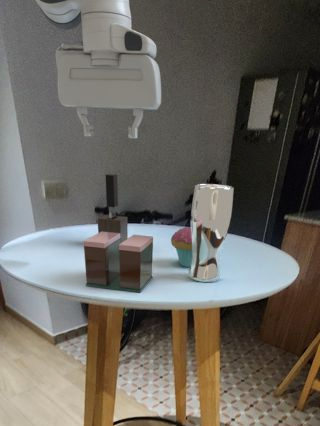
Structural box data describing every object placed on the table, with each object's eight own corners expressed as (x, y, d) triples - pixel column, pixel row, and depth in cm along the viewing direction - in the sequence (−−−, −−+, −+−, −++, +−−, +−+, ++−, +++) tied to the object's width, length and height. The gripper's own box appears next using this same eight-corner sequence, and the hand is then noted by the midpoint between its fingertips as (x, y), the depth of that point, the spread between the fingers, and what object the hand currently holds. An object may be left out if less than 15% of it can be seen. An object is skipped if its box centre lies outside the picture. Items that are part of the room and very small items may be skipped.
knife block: (98, 247, 85) (97, 218, 82) (106, 242, 89) (105, 214, 86) (120, 249, 84) (120, 220, 81) (127, 244, 89) (127, 216, 85)
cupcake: (218, 267, 76) (227, 201, 69) (186, 272, 72) (192, 203, 65) (193, 257, 81) (198, 195, 74) (161, 261, 77) (164, 196, 70)
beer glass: (197, 269, 74) (206, 182, 65) (228, 277, 71) (242, 187, 62) (178, 277, 69) (185, 184, 60) (210, 285, 66) (223, 189, 57)
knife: (107, 246, 86) (104, 174, 77) (112, 243, 88) (109, 173, 80) (115, 247, 86) (112, 175, 77) (119, 244, 88) (117, 174, 79)
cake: (85, 286, 63) (82, 241, 59) (103, 272, 70) (101, 231, 65) (140, 292, 61) (140, 247, 57) (152, 278, 68) (154, 236, 64)
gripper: (46, 38, 65) (56, 134, 74) (157, 38, 62) (154, 139, 70) (61, 45, 70) (69, 135, 79) (164, 46, 67) (161, 139, 75)
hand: (110, 137), depth 75 cm, fingers open, 8 cm apart
